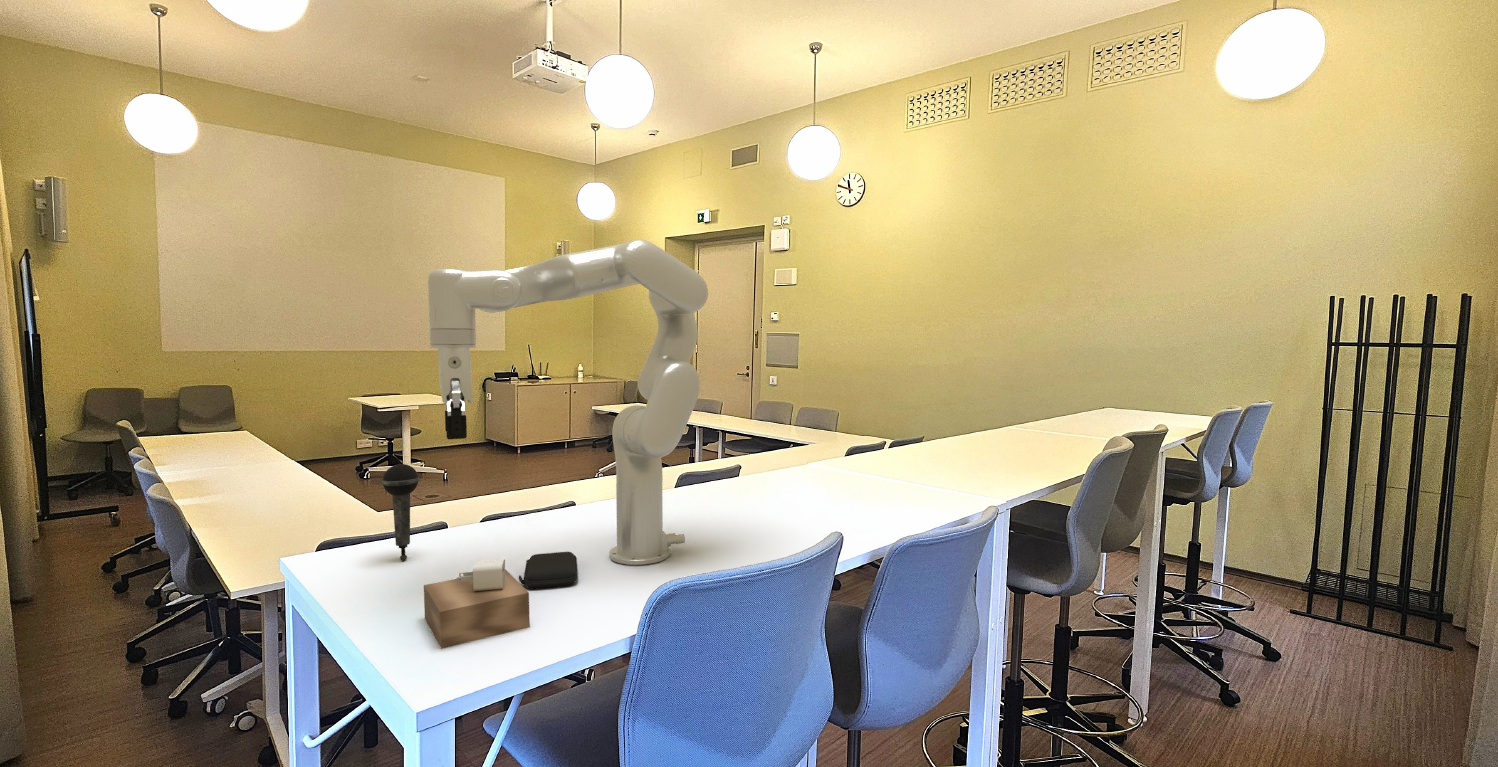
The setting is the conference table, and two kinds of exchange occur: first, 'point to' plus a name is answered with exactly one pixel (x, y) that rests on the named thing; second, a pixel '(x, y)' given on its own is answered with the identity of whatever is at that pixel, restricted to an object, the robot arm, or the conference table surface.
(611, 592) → the conference table surface
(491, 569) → the usb wall charger
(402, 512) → the microphone
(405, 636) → the conference table surface
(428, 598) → the walnut block
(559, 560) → the carrying case or bag
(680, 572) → the conference table surface
